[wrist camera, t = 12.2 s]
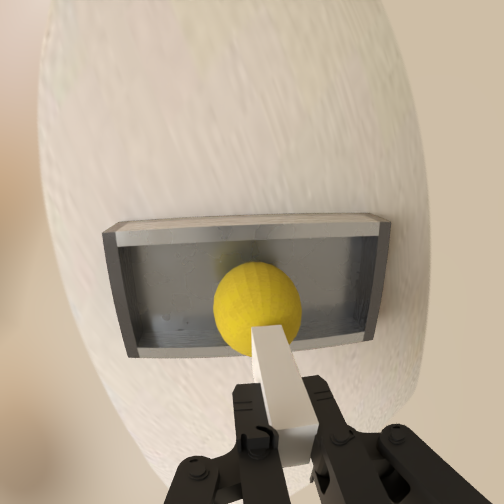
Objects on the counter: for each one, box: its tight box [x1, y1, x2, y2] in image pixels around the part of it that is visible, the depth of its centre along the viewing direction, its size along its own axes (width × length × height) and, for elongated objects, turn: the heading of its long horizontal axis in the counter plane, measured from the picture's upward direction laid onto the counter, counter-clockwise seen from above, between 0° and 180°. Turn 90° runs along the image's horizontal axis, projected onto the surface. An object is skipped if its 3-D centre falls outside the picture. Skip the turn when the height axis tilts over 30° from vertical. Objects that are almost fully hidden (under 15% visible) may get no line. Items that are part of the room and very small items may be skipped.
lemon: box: [213, 262, 302, 357], centre depth 18 cm, size 6×6×8 cm
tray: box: [102, 213, 391, 358], centre depth 22 cm, size 10×20×4 cm, turn 91°
